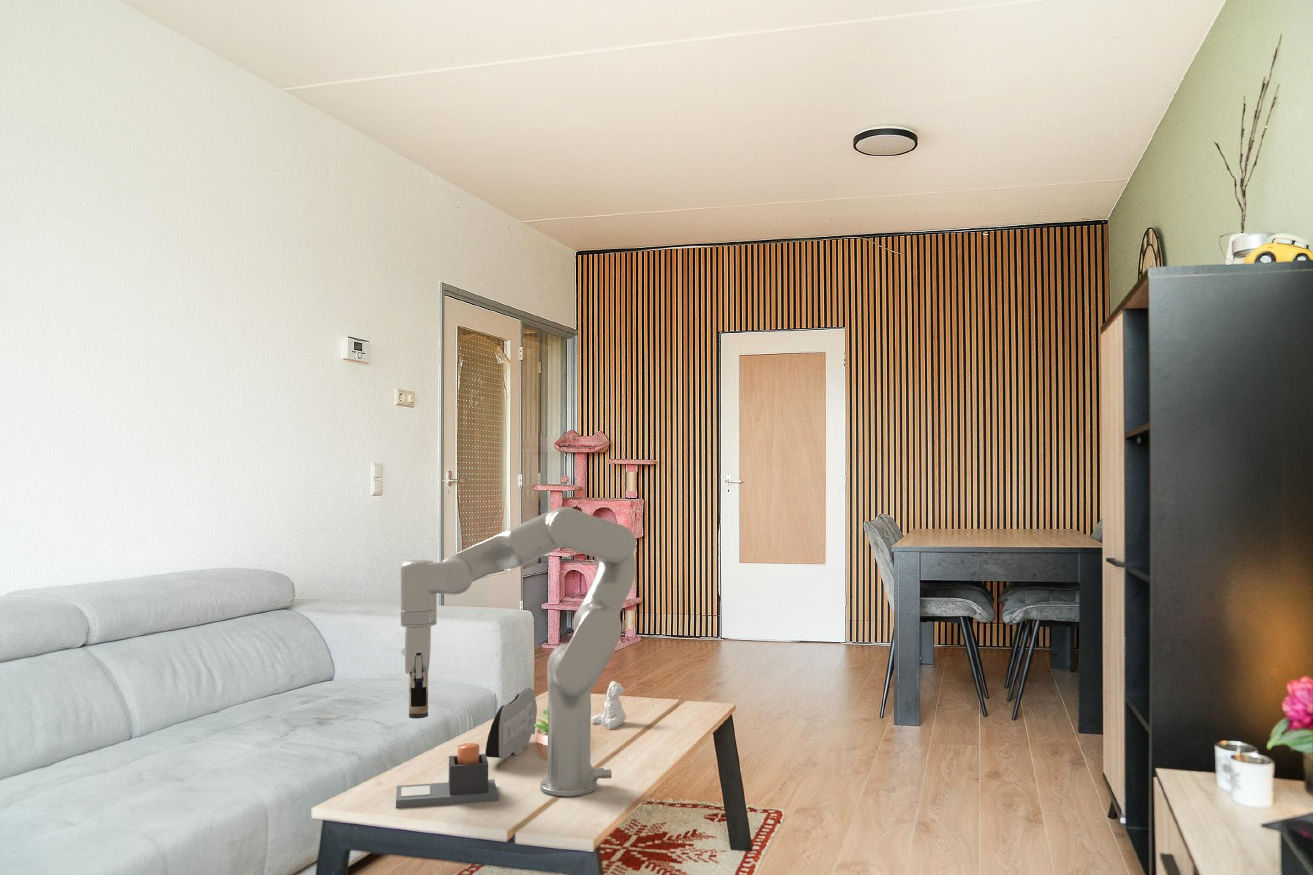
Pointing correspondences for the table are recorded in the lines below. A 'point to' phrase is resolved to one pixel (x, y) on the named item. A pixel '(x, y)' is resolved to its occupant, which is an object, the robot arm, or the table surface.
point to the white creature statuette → (611, 709)
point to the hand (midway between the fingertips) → (418, 702)
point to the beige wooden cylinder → (423, 710)
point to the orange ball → (468, 753)
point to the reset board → (452, 787)
